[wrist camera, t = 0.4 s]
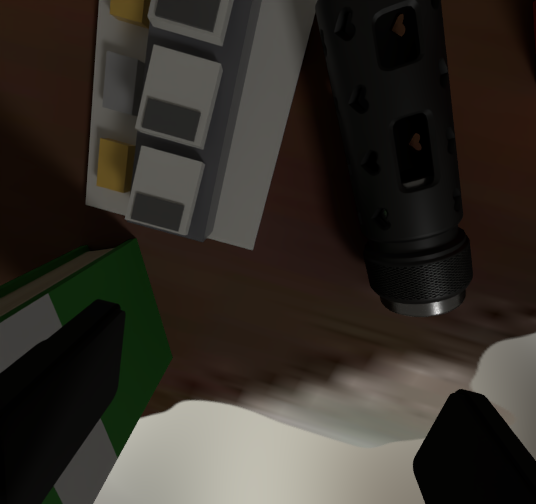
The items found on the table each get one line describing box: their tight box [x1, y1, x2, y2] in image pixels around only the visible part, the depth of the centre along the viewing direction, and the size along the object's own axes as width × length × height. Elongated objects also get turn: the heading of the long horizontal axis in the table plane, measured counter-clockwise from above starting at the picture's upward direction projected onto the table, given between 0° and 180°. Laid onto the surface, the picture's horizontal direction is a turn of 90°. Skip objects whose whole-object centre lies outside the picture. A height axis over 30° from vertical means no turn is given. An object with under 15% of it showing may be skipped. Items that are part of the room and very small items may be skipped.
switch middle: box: [135, 45, 223, 150], centre depth 26 cm, size 7×6×1 cm
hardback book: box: [0, 238, 173, 504], centre depth 31 cm, size 18×7×24 cm, turn 9°
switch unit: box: [86, 0, 317, 250], centre depth 30 cm, size 27×20×6 cm
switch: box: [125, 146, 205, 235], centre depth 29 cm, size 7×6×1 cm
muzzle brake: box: [315, 0, 473, 317], centre depth 29 cm, size 10×28×10 cm, turn 16°
